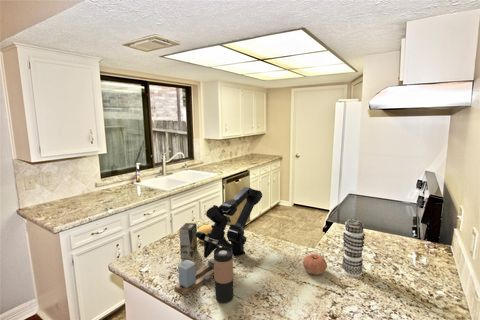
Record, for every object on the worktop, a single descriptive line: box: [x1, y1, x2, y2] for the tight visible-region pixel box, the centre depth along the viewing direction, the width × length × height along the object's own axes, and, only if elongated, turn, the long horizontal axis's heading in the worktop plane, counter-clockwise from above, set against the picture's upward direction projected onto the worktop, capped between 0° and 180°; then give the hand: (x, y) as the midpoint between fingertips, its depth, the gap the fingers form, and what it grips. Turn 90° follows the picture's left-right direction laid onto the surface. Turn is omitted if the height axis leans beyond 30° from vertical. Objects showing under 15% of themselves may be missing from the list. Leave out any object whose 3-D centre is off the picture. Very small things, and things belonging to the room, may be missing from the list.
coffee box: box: [179, 222, 199, 260], centre depth 141 cm, size 9×6×16 cm
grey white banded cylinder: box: [341, 218, 366, 278], centre depth 121 cm, size 9×9×25 cm
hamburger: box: [197, 224, 212, 243], centre depth 159 cm, size 12×12×9 cm
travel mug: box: [213, 246, 234, 304], centre depth 105 cm, size 8×8×20 cm
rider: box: [177, 259, 197, 288], centre depth 113 cm, size 5×5×11 cm
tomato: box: [302, 253, 328, 276], centre depth 123 cm, size 11×11×8 cm
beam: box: [174, 257, 214, 296], centre depth 119 cm, size 24×9×4 cm, turn 144°
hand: (204, 257), depth 121 cm, fingers closed
